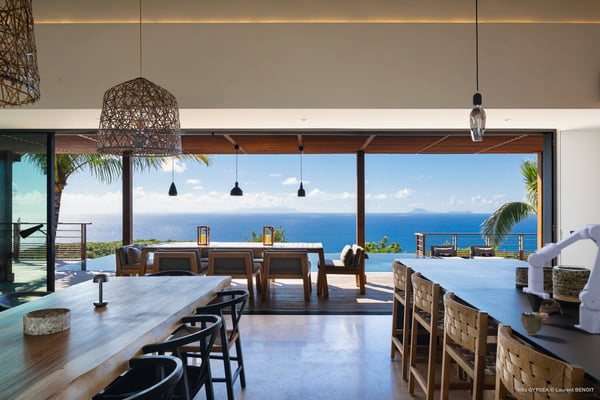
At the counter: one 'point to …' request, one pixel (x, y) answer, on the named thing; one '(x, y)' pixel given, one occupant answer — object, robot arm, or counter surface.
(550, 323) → the button panel
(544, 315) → the terracotta button
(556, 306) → the pottery mug
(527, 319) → the cup
